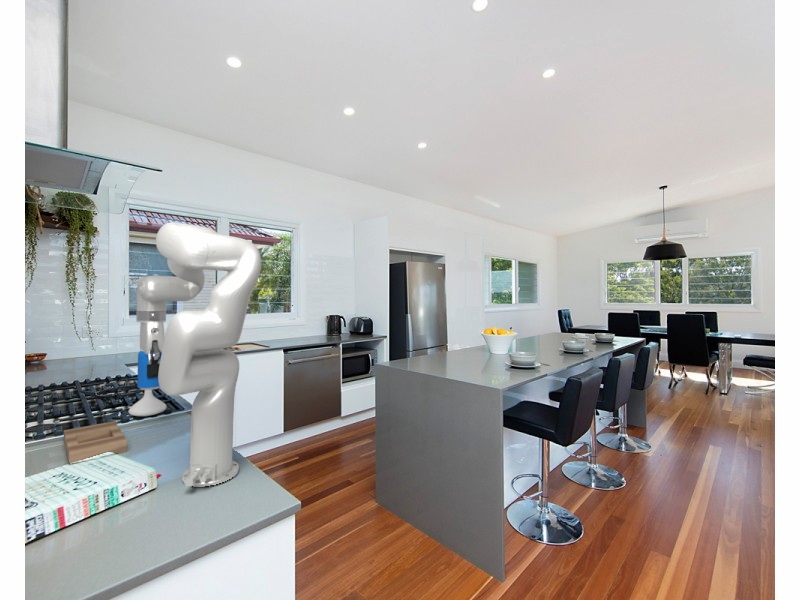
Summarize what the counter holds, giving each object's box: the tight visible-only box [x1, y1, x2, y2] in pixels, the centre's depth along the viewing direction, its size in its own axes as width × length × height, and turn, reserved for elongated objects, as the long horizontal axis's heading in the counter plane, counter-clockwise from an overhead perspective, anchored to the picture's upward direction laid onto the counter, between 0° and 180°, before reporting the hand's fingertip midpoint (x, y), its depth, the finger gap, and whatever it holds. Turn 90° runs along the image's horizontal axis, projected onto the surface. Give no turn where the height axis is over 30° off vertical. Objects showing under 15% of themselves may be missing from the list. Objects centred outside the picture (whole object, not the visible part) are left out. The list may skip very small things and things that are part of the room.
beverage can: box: [137, 348, 162, 391], centre depth 113 cm, size 6×6×12 cm
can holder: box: [63, 420, 128, 464], centre depth 105 cm, size 20×12×3 cm, turn 46°
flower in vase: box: [128, 390, 168, 417], centre depth 133 cm, size 13×11×25 cm
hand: (150, 374), depth 113 cm, fingers closed on beverage can, 6 cm apart
